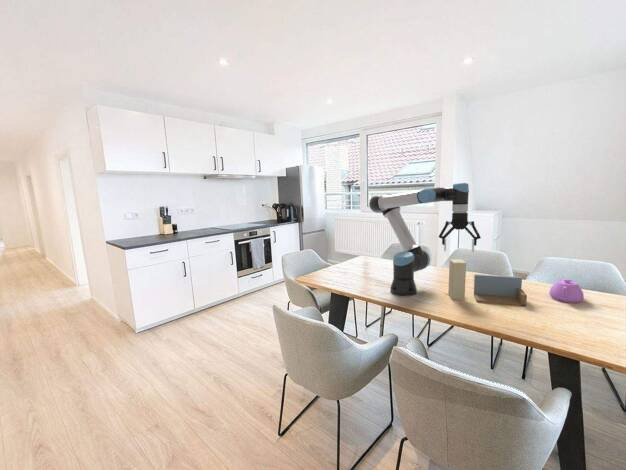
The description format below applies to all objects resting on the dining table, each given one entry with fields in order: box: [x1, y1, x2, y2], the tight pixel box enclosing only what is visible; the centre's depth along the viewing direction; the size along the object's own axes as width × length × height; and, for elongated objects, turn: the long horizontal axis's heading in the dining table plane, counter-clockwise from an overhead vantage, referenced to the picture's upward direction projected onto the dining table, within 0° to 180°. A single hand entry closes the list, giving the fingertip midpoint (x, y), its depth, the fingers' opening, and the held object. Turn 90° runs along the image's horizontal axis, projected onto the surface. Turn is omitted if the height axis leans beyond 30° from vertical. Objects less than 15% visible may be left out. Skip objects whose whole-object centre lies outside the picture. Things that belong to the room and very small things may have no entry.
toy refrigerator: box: [448, 258, 467, 301], centre depth 162 cm, size 8×7×21 cm
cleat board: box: [473, 273, 528, 308], centre depth 156 cm, size 22×12×12 cm, turn 68°
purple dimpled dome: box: [548, 278, 585, 304], centre depth 154 cm, size 14×20×11 cm
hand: (458, 251), depth 159 cm, fingers open, 13 cm apart
